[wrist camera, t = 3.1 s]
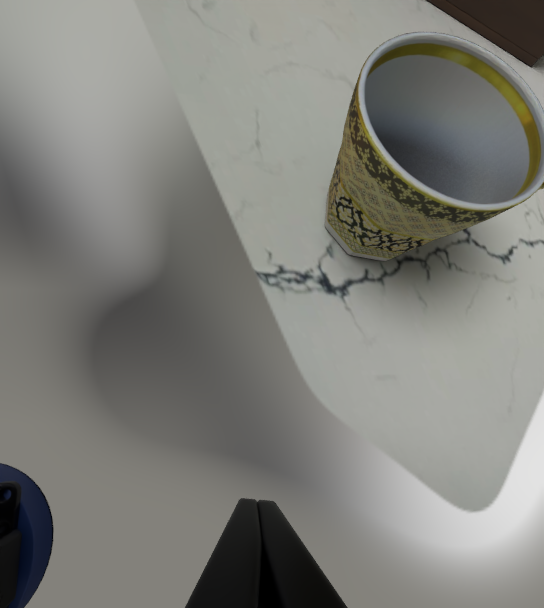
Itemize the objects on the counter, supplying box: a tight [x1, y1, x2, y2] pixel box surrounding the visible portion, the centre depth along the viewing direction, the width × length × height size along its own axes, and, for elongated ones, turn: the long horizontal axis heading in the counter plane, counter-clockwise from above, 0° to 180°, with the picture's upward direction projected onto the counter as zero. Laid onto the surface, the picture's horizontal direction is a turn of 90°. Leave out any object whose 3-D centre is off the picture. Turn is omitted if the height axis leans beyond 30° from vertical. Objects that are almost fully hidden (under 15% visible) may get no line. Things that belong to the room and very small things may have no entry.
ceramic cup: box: [325, 32, 544, 261], centre depth 21 cm, size 13×10×10 cm
